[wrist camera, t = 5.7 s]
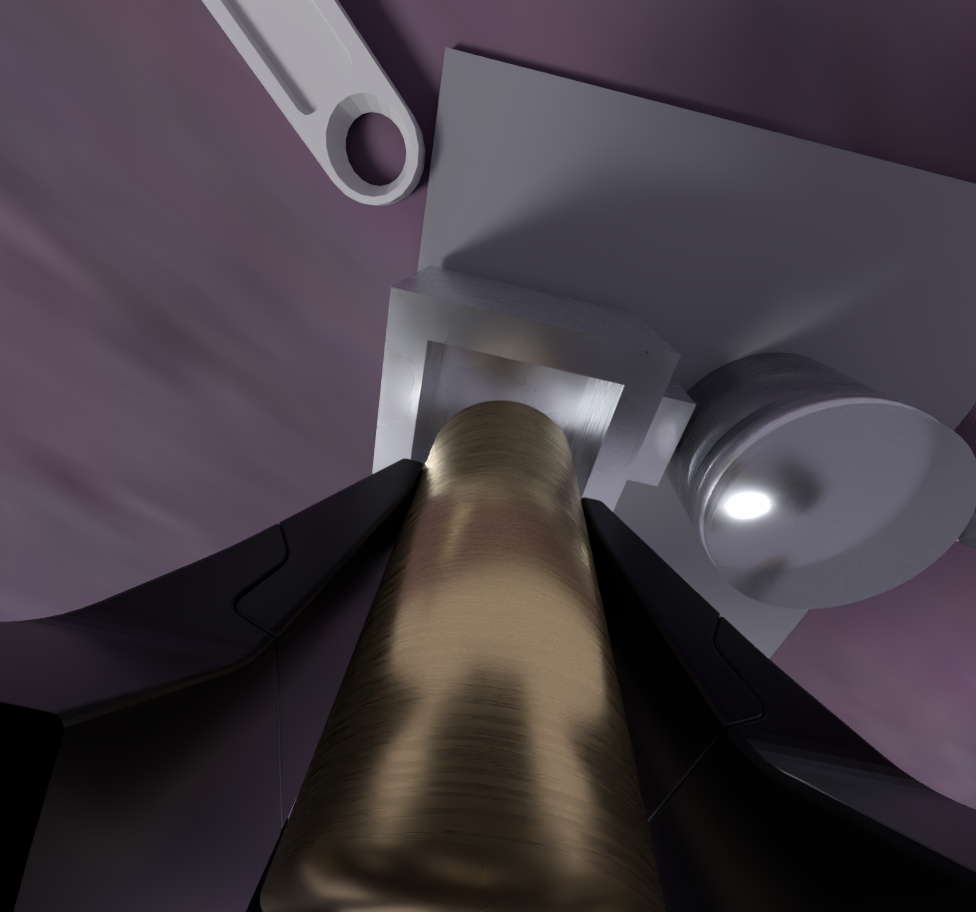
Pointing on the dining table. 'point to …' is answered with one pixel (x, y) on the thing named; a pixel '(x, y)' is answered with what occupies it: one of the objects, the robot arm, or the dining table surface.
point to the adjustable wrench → (322, 83)
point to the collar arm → (533, 376)
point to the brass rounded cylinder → (477, 707)
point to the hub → (817, 482)
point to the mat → (706, 253)
